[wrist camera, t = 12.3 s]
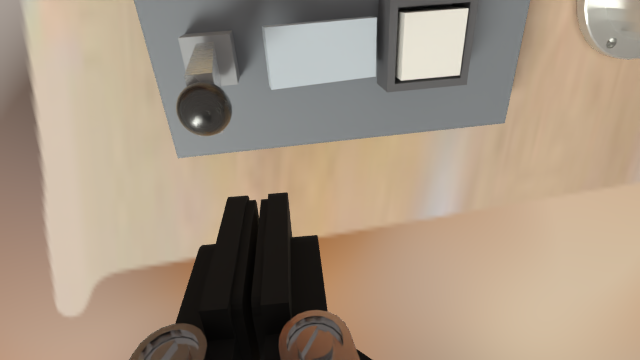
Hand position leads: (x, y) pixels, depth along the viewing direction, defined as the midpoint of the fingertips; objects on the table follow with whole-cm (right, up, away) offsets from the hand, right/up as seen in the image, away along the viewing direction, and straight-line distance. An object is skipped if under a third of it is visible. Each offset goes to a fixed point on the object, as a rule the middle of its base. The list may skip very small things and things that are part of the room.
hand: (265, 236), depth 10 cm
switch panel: (+3, +12, +17) cm, 21 cm away
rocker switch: (+2, +10, +12) cm, 16 cm away
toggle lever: (-5, +9, +11) cm, 15 cm away
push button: (+8, +11, +14) cm, 20 cm away
